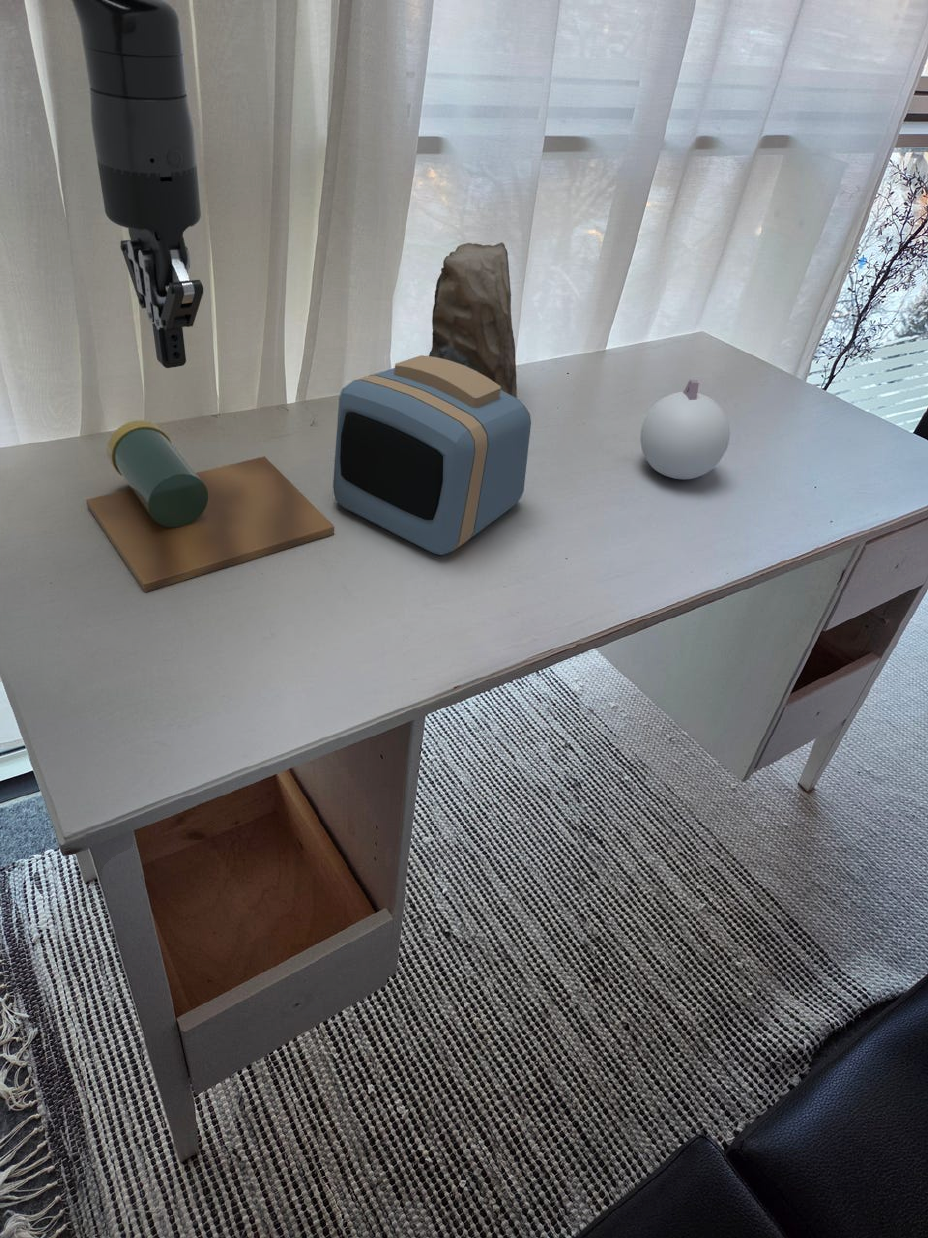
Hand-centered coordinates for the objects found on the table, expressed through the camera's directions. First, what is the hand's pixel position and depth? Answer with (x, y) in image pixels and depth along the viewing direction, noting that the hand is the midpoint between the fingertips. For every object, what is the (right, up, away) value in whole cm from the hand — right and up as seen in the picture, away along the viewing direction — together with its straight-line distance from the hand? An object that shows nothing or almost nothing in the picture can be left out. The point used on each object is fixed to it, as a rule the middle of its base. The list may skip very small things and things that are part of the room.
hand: (172, 363), depth 78 cm
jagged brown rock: (+28, +4, +34) cm, 45 cm away
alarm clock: (+23, -11, +16) cm, 30 cm away
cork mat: (+1, -14, +9) cm, 17 cm away
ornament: (+53, -5, +28) cm, 61 cm away
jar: (-1, -12, +5) cm, 13 cm away
